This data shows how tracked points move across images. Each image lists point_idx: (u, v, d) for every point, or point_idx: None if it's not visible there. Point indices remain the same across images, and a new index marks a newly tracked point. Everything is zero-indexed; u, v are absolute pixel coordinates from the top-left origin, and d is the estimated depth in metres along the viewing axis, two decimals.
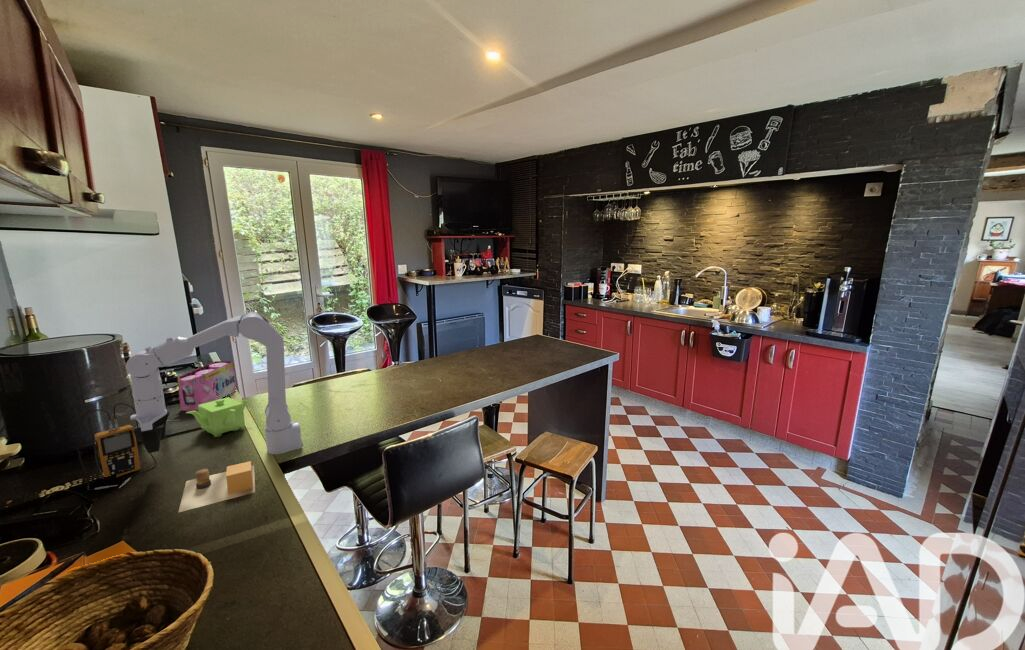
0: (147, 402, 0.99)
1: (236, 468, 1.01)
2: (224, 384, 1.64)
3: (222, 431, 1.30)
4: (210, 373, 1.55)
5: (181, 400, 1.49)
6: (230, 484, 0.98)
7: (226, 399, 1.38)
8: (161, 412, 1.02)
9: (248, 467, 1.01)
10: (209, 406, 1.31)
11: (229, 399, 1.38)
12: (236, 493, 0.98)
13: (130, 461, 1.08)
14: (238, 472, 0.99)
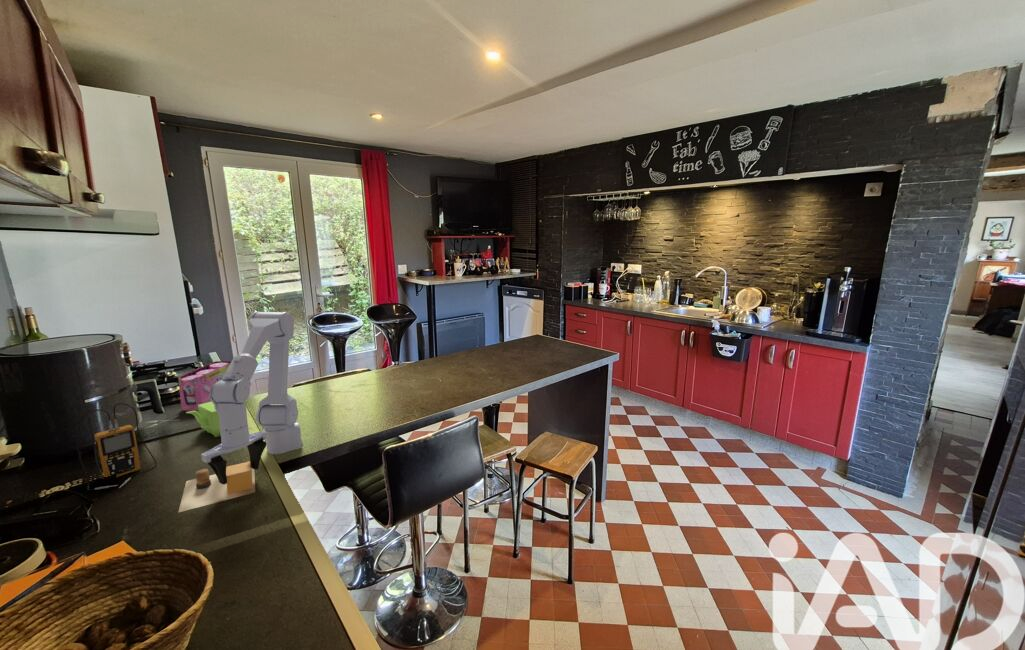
0: (222, 432, 0.96)
1: (236, 468, 1.01)
2: None
3: None
4: (211, 373, 1.56)
5: (182, 400, 1.49)
6: (230, 484, 0.98)
7: None
8: (233, 446, 0.97)
9: (248, 467, 1.01)
10: (209, 406, 1.31)
11: None
12: (236, 493, 0.98)
13: (130, 461, 1.08)
14: (238, 472, 0.99)
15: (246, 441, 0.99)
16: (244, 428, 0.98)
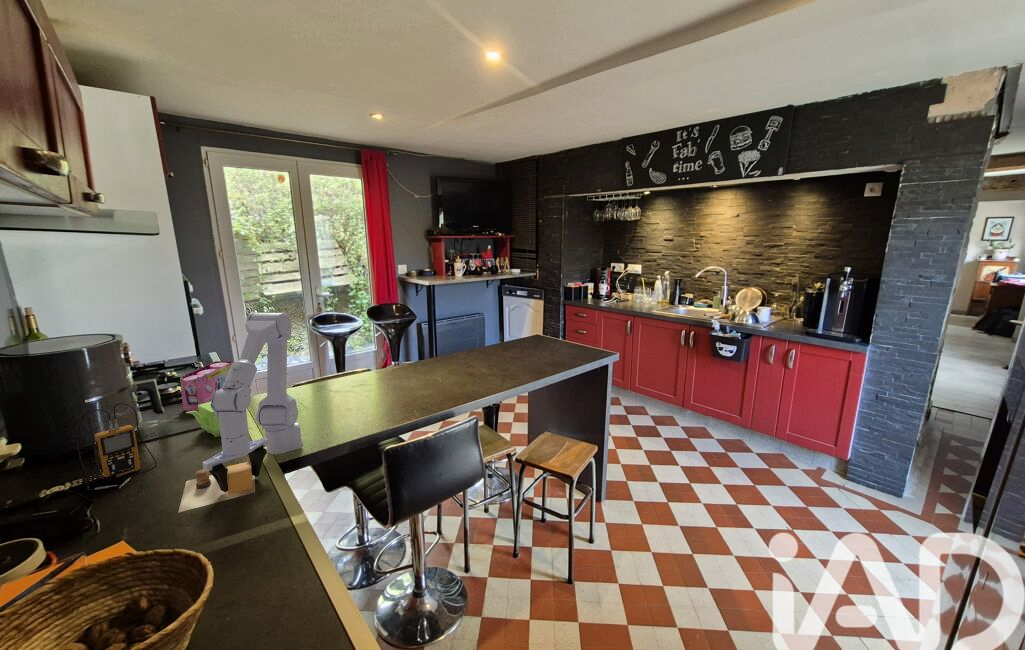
0: (223, 441, 0.97)
1: (236, 468, 1.01)
2: None
3: None
4: (212, 373, 1.56)
5: (184, 400, 1.49)
6: (230, 484, 0.98)
7: None
8: (234, 454, 0.97)
9: (248, 467, 1.01)
10: (209, 406, 1.31)
11: None
12: (236, 493, 0.98)
13: (130, 461, 1.08)
14: (238, 472, 0.99)
15: (247, 449, 1.00)
16: (245, 436, 0.99)
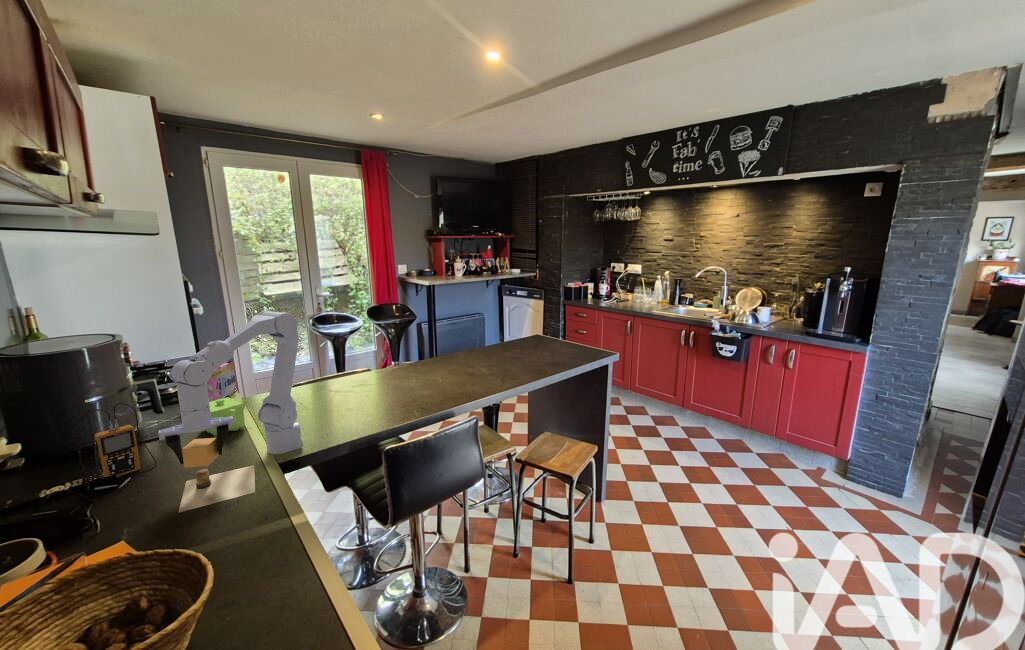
0: None
1: (197, 442, 0.99)
2: (226, 384, 1.65)
3: None
4: (214, 373, 1.56)
5: None
6: (186, 458, 0.97)
7: (226, 399, 1.38)
8: (188, 427, 0.95)
9: (207, 444, 0.99)
10: None
11: (229, 399, 1.38)
12: (236, 493, 0.98)
13: (130, 461, 1.08)
14: (194, 447, 0.97)
15: (203, 425, 0.97)
16: (200, 411, 0.96)
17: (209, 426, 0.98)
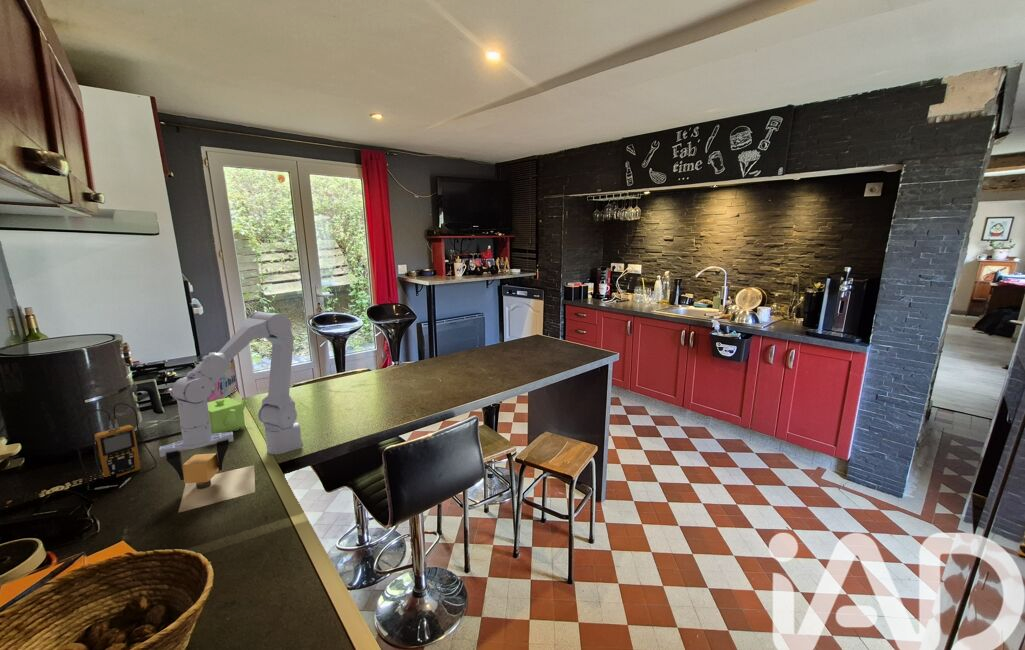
0: (181, 429, 0.97)
1: (198, 458, 1.00)
2: (227, 384, 1.65)
3: (222, 431, 1.30)
4: None
5: None
6: (186, 474, 0.97)
7: (226, 399, 1.38)
8: (188, 444, 0.96)
9: (207, 460, 0.99)
10: (209, 406, 1.31)
11: (229, 399, 1.38)
12: (236, 493, 0.98)
13: (130, 461, 1.08)
14: (194, 463, 0.98)
15: (203, 441, 0.98)
16: (200, 428, 0.97)
17: (209, 442, 0.99)
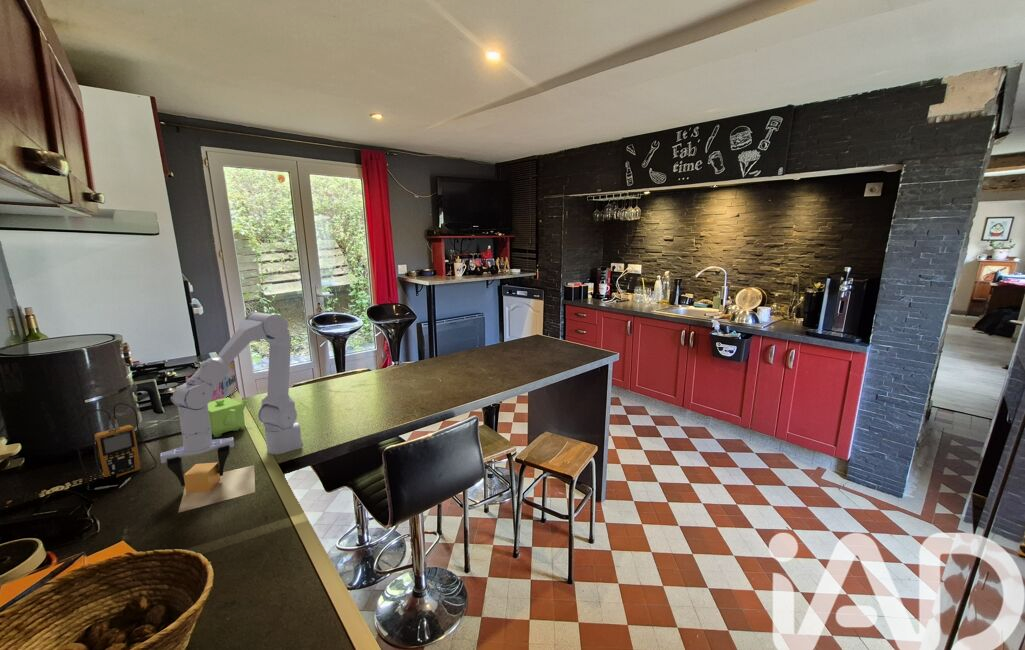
0: None
1: (199, 468, 1.00)
2: (228, 384, 1.65)
3: (222, 431, 1.30)
4: None
5: None
6: (188, 483, 0.98)
7: (226, 399, 1.38)
8: (189, 450, 0.96)
9: (208, 469, 1.00)
10: (209, 406, 1.31)
11: (229, 399, 1.38)
12: (236, 493, 0.98)
13: (130, 461, 1.08)
14: (196, 473, 0.98)
15: (203, 447, 0.98)
16: (201, 434, 0.97)
17: (210, 448, 0.99)
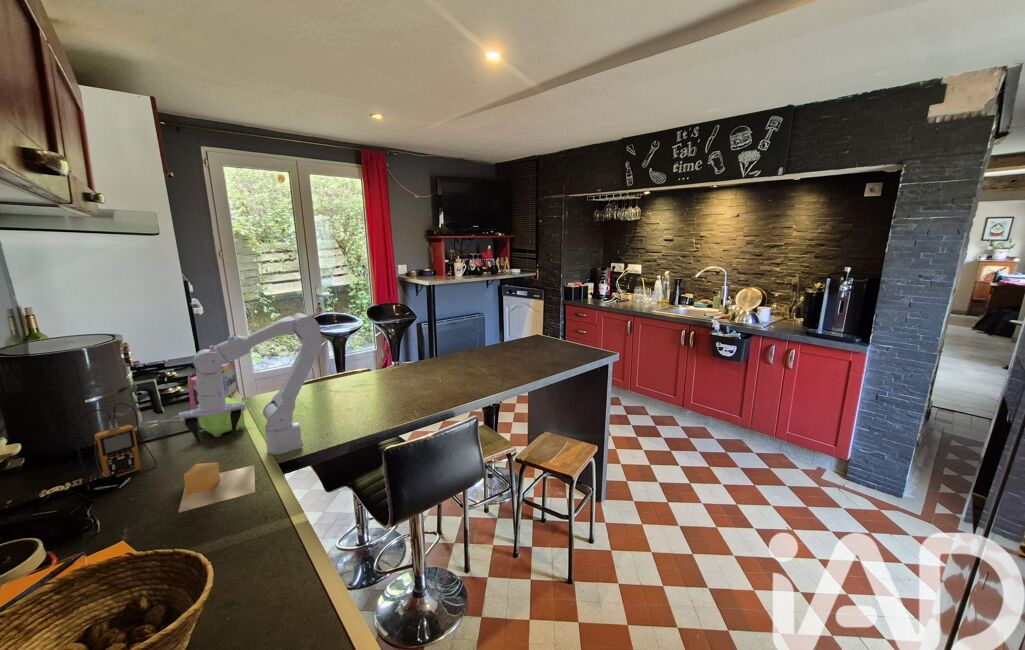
0: (198, 397, 1.06)
1: (199, 468, 1.00)
2: (229, 383, 1.66)
3: (222, 431, 1.30)
4: None
5: (191, 400, 1.50)
6: (188, 483, 0.98)
7: (226, 399, 1.38)
8: (204, 411, 1.05)
9: (208, 469, 1.00)
10: None
11: (229, 399, 1.38)
12: (236, 493, 0.98)
13: (130, 461, 1.08)
14: (196, 473, 0.98)
15: (217, 409, 1.06)
16: (215, 396, 1.06)
17: (223, 410, 1.07)
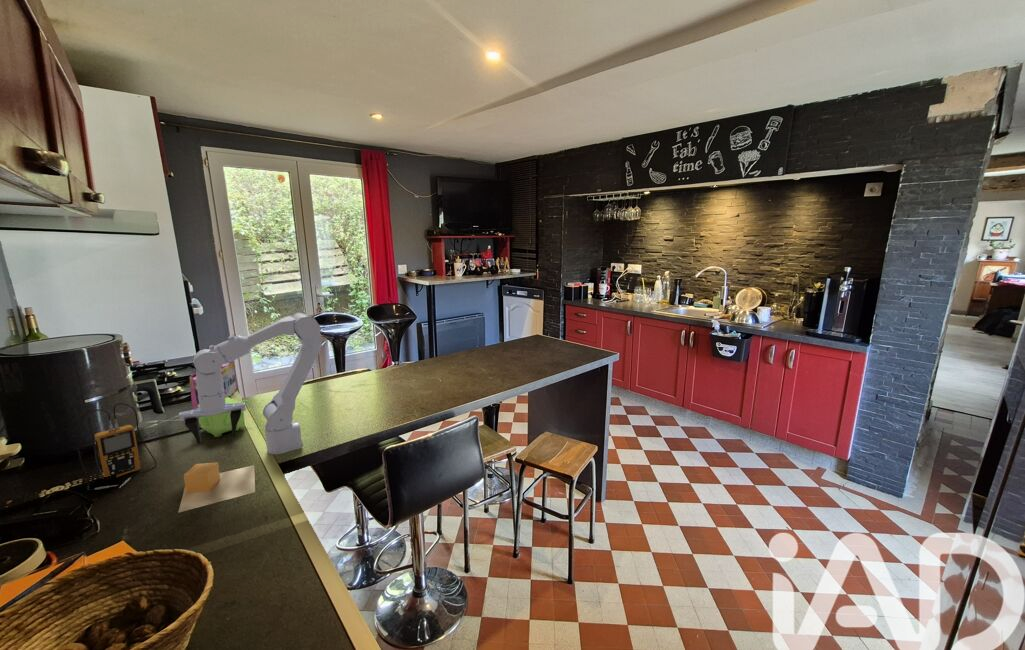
0: (198, 397, 1.06)
1: (199, 468, 1.00)
2: (229, 383, 1.66)
3: (222, 431, 1.30)
4: None
5: (193, 400, 1.50)
6: (188, 483, 0.98)
7: (226, 399, 1.38)
8: (204, 411, 1.05)
9: (208, 469, 1.00)
10: None
11: (229, 399, 1.38)
12: (236, 493, 0.98)
13: (130, 461, 1.08)
14: (196, 473, 0.98)
15: (217, 409, 1.06)
16: (215, 396, 1.06)
17: (223, 410, 1.07)
